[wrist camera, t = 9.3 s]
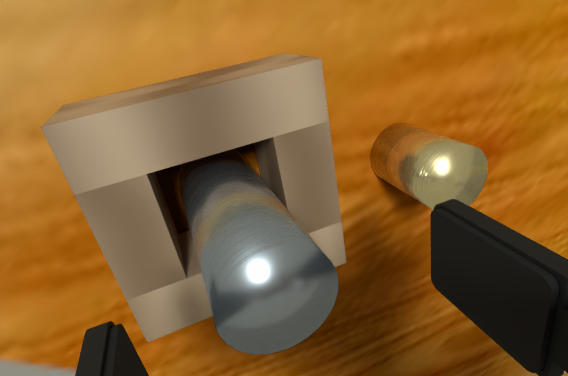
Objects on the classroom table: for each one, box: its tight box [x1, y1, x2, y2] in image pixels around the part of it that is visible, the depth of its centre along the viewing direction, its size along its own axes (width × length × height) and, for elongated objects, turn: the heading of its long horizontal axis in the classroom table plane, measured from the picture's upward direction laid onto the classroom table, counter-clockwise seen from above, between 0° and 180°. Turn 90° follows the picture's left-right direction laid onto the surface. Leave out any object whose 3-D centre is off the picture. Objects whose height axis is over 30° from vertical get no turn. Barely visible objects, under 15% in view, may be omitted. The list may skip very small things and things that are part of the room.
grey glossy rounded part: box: [370, 123, 488, 210], centre depth 20 cm, size 4×4×5 cm
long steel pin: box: [177, 149, 338, 354], centre depth 14 cm, size 4×4×10 cm
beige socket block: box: [41, 53, 347, 342], centre depth 17 cm, size 10×10×4 cm
